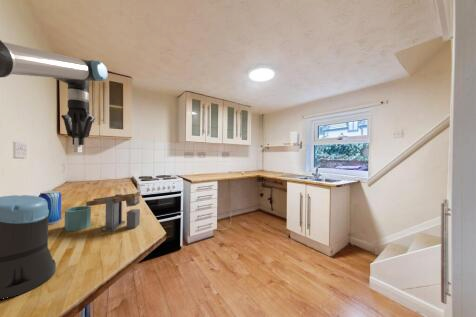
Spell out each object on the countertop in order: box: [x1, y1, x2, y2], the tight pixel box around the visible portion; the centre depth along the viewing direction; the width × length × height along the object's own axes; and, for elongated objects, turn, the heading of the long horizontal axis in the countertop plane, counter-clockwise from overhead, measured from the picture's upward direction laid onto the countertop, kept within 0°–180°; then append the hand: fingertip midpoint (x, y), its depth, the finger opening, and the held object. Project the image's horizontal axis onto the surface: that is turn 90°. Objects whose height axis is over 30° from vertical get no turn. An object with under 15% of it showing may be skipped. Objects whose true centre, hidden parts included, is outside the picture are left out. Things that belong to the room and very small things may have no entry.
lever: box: [85, 191, 141, 208], centre depth 96 cm, size 22×15×6 cm
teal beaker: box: [64, 205, 92, 232], centre depth 90 cm, size 9×9×9 cm
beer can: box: [37, 190, 62, 226], centre depth 94 cm, size 8×8×16 cm
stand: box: [101, 193, 126, 232], centre depth 91 cm, size 11×5×15 cm, turn 6°
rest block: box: [126, 208, 141, 229], centre depth 92 cm, size 5×4×8 cm
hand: (78, 152), depth 85 cm, fingers closed
